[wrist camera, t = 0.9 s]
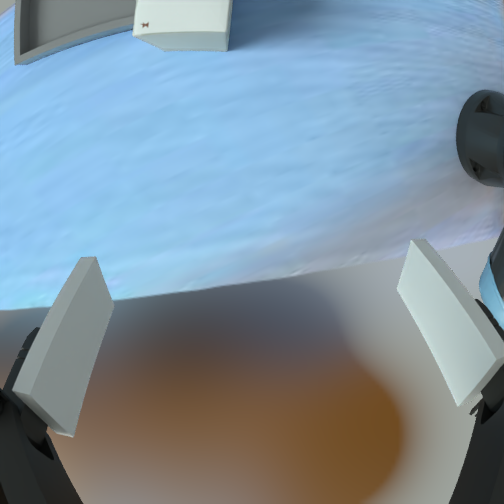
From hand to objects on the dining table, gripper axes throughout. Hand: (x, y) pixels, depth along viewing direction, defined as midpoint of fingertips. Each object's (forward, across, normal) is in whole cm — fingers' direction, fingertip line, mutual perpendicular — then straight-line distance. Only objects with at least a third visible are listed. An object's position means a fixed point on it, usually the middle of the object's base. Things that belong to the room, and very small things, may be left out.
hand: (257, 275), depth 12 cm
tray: (+27, +18, -22) cm, 39 cm away
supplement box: (+27, +4, -14) cm, 31 cm away
